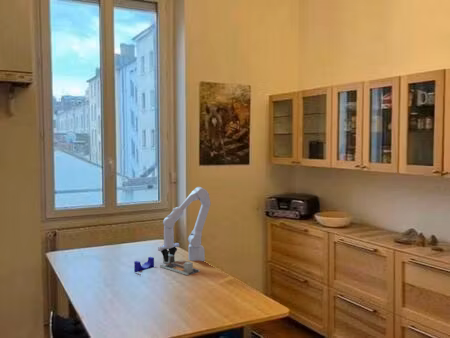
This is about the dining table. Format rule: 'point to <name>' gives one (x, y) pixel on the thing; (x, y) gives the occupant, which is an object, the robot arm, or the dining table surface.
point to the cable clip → (146, 265)
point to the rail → (178, 268)
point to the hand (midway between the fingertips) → (168, 260)
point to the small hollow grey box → (188, 267)
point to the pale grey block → (169, 259)
